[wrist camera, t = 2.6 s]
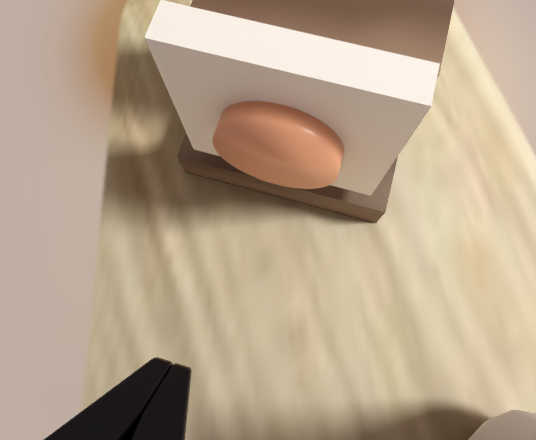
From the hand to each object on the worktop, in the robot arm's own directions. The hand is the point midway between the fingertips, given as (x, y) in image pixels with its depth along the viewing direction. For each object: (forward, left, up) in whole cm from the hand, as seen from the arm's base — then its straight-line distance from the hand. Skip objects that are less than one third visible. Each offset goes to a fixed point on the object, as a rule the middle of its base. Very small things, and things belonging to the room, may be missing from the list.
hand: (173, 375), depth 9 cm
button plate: (+9, +2, -9) cm, 13 cm away
